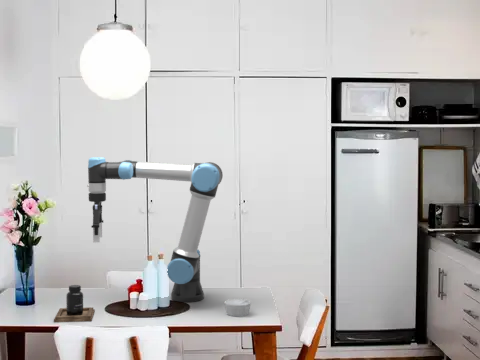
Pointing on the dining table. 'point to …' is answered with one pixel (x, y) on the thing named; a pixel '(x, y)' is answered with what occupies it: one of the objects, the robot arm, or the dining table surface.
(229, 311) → the ramekin
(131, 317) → the dining table surface
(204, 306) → the dining table surface
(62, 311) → the walnut tray
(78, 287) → the supplement bottle
